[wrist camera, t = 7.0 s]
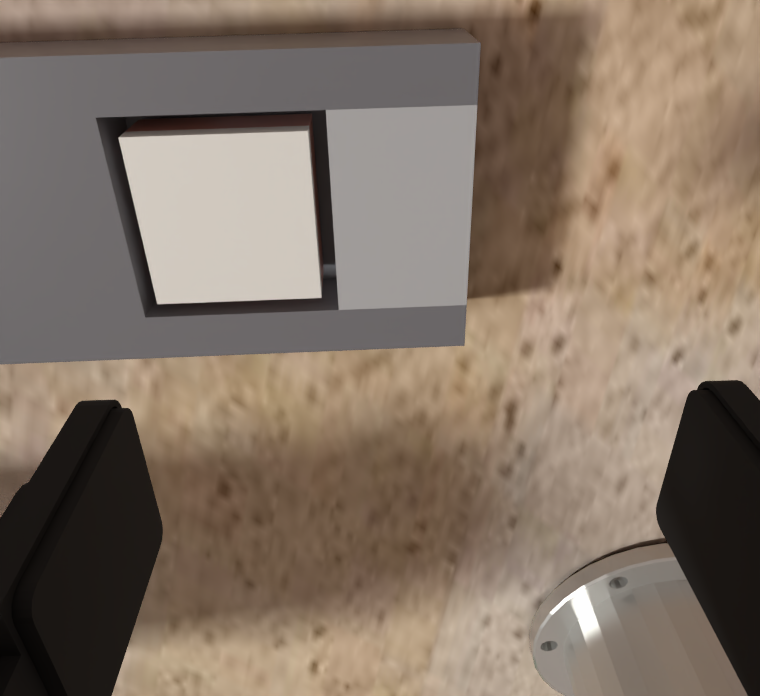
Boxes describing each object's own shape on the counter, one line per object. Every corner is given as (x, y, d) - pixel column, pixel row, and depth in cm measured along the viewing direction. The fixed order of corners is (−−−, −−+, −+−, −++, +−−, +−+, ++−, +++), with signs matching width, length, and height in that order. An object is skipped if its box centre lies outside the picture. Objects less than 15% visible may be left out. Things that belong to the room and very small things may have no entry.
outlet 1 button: (311, 113, 19) (307, 130, 17) (323, 269, 22) (321, 297, 20) (139, 119, 19) (118, 137, 17) (172, 275, 22) (157, 304, 20)
